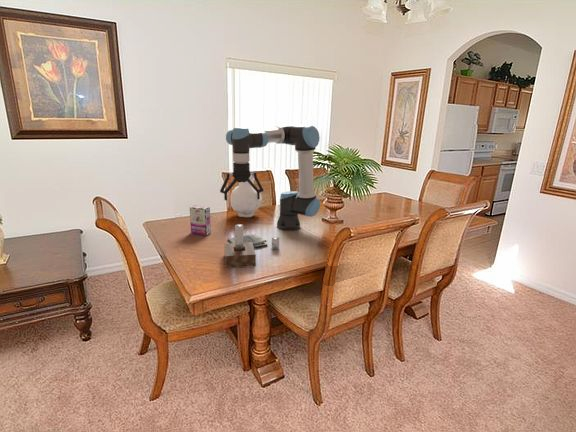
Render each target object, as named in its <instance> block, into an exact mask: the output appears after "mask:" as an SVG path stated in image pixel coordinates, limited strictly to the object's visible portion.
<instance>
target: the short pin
mask: <svg viewBox="0 0 576 432" xmlns="http://www.w3.org/2000/svg"><path fill="white" fill-rule="evenodd" d="M271 250H272V251H279V250H280V237H277V236H274V237H271Z"/></svg>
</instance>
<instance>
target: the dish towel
mask: <svg viewBox="0 0 576 432" xmlns="http://www.w3.org/2000/svg"><path fill="white" fill-rule="evenodd" d="M243 237H244V243H247V242H252V244H253V247H254V250H255V248H256V249H261V248H265V247H268V244H267V242H268V241H267V240H266V239H264V238H263V237H261V236H259V235H258V234H256V233H252V234H246V235H243ZM227 242H228V243H235V237H231V238H227Z"/></svg>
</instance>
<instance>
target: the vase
mask: <svg viewBox="0 0 576 432" xmlns="http://www.w3.org/2000/svg"><path fill="white" fill-rule="evenodd" d="M249 179H250V181H251V182H252V183H253V184H254V182H255V178H254V177H252V175H251V176H250V177H249ZM254 185H255V184H254ZM255 192H256V190H255V189H254V188H253V187H252V186H251V185H250V184H249V183H248V182H247V181H246V182H238V185H237V186H235V187H234V189H233V190H232V191H231V193H230V199H229V200H230V201H229V202H230V205H231V208H232V210H234V211H235V212H236V213H237V215H238V217H240V218H252V217H254V216H255V212H256V211H258V210H259V208H260V206H261V205H262V201H263V200H262V199H263V198H262V194H261V193H260V199H257V207H256V206H255Z"/></svg>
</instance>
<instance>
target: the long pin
mask: <svg viewBox="0 0 576 432" xmlns="http://www.w3.org/2000/svg"><path fill="white" fill-rule="evenodd" d="M243 236H244V224H240V223H238V224H235V225H234V238H235V251H244V237H243Z"/></svg>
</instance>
